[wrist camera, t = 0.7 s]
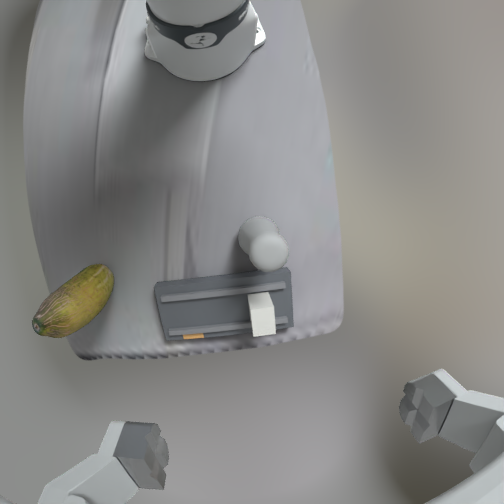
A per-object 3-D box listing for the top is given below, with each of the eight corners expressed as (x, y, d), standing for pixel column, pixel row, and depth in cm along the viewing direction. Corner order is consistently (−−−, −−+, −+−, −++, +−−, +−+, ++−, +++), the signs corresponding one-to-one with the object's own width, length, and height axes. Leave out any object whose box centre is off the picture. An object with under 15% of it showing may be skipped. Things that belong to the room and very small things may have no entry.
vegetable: (128, 268, 41) (65, 325, 22) (119, 302, 42) (62, 370, 23) (95, 253, 40) (20, 298, 21) (88, 287, 42) (20, 345, 22)
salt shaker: (258, 261, 43) (271, 292, 30) (229, 236, 42) (229, 258, 29) (285, 232, 42) (309, 251, 30) (256, 206, 41) (268, 214, 28)
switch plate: (157, 282, 42) (152, 289, 39) (287, 267, 43) (291, 273, 40) (168, 333, 44) (165, 343, 41) (290, 319, 45) (294, 329, 42)
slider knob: (247, 294, 41) (250, 309, 36) (268, 291, 41) (273, 306, 36) (250, 319, 42) (253, 336, 37) (270, 316, 42) (276, 333, 37)
